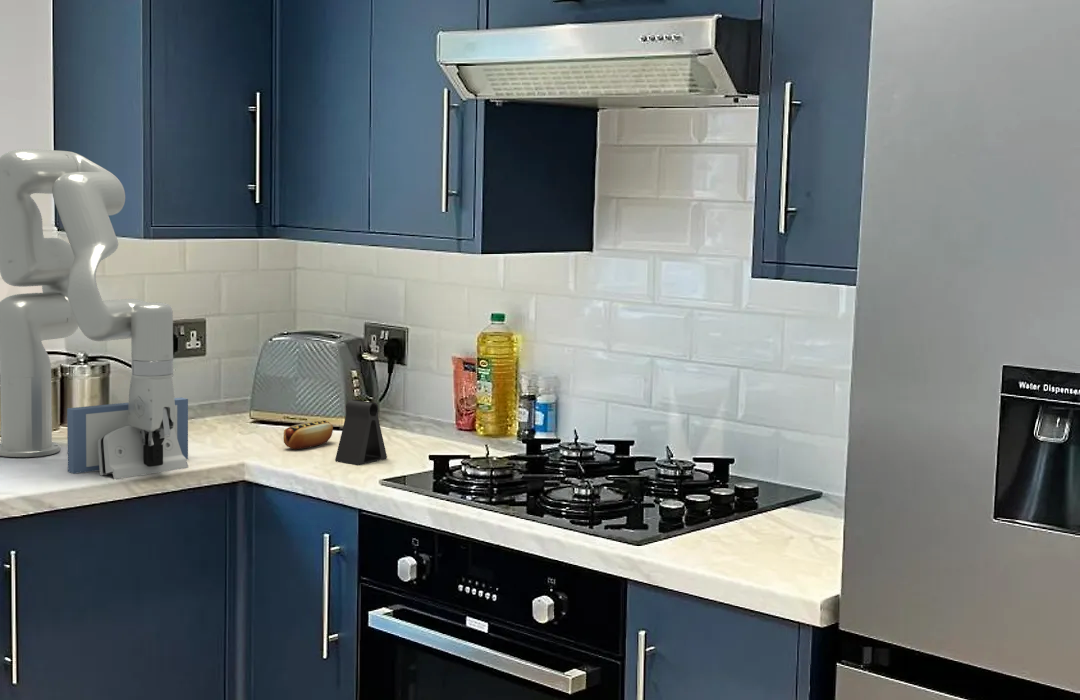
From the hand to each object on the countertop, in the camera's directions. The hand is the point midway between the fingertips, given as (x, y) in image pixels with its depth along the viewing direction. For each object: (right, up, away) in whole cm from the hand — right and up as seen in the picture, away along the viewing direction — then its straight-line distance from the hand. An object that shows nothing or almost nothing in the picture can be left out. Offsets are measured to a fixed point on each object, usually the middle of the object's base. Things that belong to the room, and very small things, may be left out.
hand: (153, 465), depth 270 cm
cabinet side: (-6, -1, +7) cm, 9 cm away
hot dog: (+24, +1, +31) cm, 39 cm away
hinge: (-3, -2, +2) cm, 4 cm away
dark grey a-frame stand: (+37, -1, +18) cm, 41 cm away
